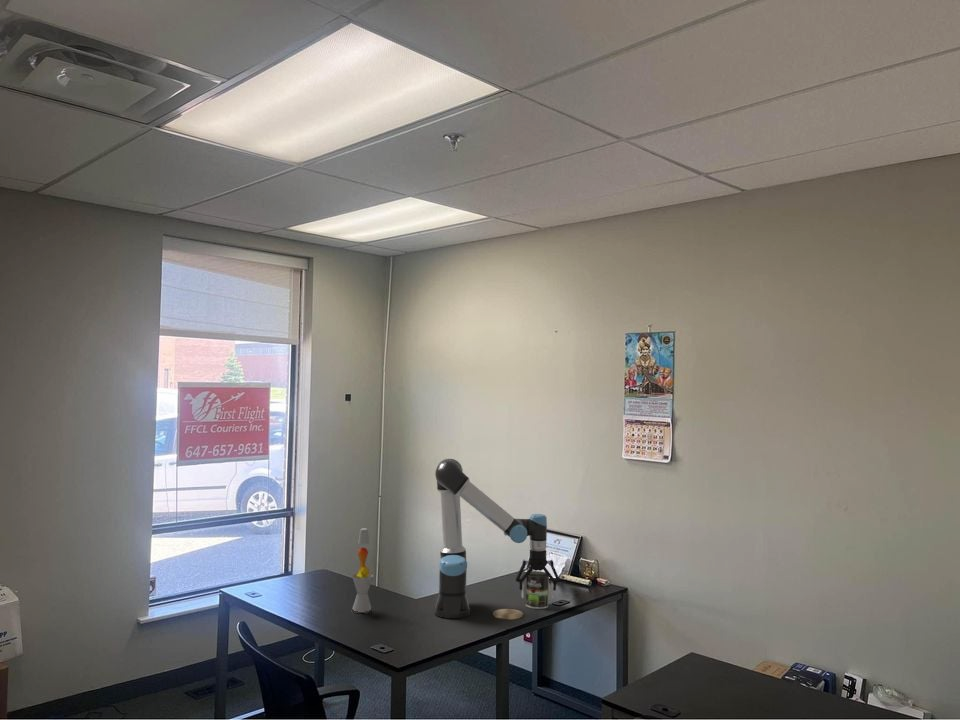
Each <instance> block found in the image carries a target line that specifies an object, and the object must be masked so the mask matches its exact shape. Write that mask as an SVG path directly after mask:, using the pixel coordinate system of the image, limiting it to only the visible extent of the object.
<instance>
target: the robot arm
mask: <svg viewBox="0 0 960 720" xmlns="http://www.w3.org/2000/svg"><path fill="white" fill-rule="evenodd" d="M434 476H435V479H436V489H437V491H438V493H440V501H441V502H440V503H441V525H442V548H441V549H440V550H439V555H440V556H439V557H440V561H439V564H438V568H439V575H438V576H439V580H438V581H439V583H438V596H437V600H436V603H435V606H434V615H435V614H436V615H435V616H436V617H439V616H440V617H439V618H442V617H444V618H443V619H462V618H466V617H469V615H470V611H471V608H470V605H469V601H468V597H467V569H468V561H467V550H466V549H467V548H466V547H464V546H463V533H462V531H463V530H462V513H461V511H462V510H461V499H463V500H464V501H465V502H466V503H468V505H471V506H472V507H473V509H475V510H476V511H478V512H479V513H480V514H481V515H482V516H484V517H485V518H486V519H487V520H488V521H489V522H491V523H492V524H493V525H495V526H496V527H497V528H498V529H500V531H502V532H503V534H504V536H508V537H509V539H511V541H512V542H514V543H516V544H522V543H524V541H526V540H527V538H528V537H529V559H528V560H526V559H522V564H521V566H520V568H519V570H518V573H517V574H516V577H515V582H517V583H518V584H519V587H518V588H519V591H521V598H522V599H524V598H525V582H524V581H525V580H527V574H528V575H529V574H530V572H532V571H541V572H542V571H543V572H546V574H547V575H549V580H551V583H550V584H551V585H550V597H551V599H552V600H553V599H554V591H556V590H557V583H560V582H561V580H560V577H559V575H558V572H557V571H556V570H557V569H555V566H554V561H553V560H552V559H550V560H547V540H548V539H547V537H548V534H547V532H548V530H547V529H548V528H547V527H548V523H547V516H546V515H545V514H541V513H533V514H530V517H529V518H515V517H513V516H512V515H511V514H510V513H509V512H507V511H506V510H505V509H504V508H503V507H501V505H499V504H498V503H496V502H495V501H494V500H493V499H491V497H489V496H488V495H487V494H486V493H484V491H482V490H481V489H479V488H478V487H477V486H476V485H475V484H473V483H472V482H471V481H470V477H468V476H467V475H466V474H465V473H464V472H463V467H462V465H461V463H460V462H459V461H457V460H456V459H454V458H445V459H443V460H441V461H440V462H439V463H438V464H437V467H436V469H435V473H434ZM528 564H529V567H528V568H527V569H526V571H525V568H526V566H527V565H528ZM547 565H549V566H550V568H551V570H552V572H553V575H552V574H551V573H550V571H549V570H548V569H547V568H546V566H547ZM524 571H525V572H524ZM523 572H524V574H523ZM522 574H523V575H522ZM553 576H555V578H554V577H553Z"/></svg>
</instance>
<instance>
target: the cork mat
mask: <svg viewBox="0 0 960 720" xmlns="http://www.w3.org/2000/svg"><path fill="white" fill-rule="evenodd" d="M492 616H493V617H495V618H496V619H499V620H510V621H511V620H512V621H513V620H514V621H515V620H518V619H522V618H523V617H524V612H523V611H522V610H518V609H514V608H499V609H496V610H494V611H492Z"/></svg>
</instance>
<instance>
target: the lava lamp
mask: <svg viewBox="0 0 960 720" xmlns="http://www.w3.org/2000/svg"><path fill="white" fill-rule="evenodd" d="M357 542H358V543H357V544H358V545H370V537H369V530H368V528H365V527H364V528H360V530H359V535H358V540H357ZM368 554H369V550H368V549H367V548H366V547H360V548H359V549H358V550H357V555H358V558H359V562H360V563H359V564H360V566H359V568H358V569H359V570H358V572H357V573H354V574H352V576H351V577H352V581H353V583H354V587H355V590H356V593H357V594H356V596H355V600H354V603H353V605H352V609H353V610H354V611H358V612H365V611H369V610H371V608H372V604H371V602H370V601H371V600H370V598H369V594H368V592H369V589H370V587H371V583H372V581H373V578H374V574H372V573H370V569H369V567H368V566H366V560H367V557H368Z"/></svg>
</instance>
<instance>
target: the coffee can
mask: <svg viewBox="0 0 960 720" xmlns="http://www.w3.org/2000/svg"><path fill="white" fill-rule="evenodd" d="M525 584H526V585H525V586H526V588H525V589H526V590H525V591H526V592H525V593H526V594H525V607H527V608H529V609H535V610H542V609H547V608H549V596H550V595H549V593H550V592H549V590H550V589H549V588H550V585H549V584H550V578H549V575H547V574H546V572H545V571H542V570H541V571H539V570H537V571H535V570H532V572H530V574H529V575H528V574H527V577H526V583H525Z"/></svg>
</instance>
